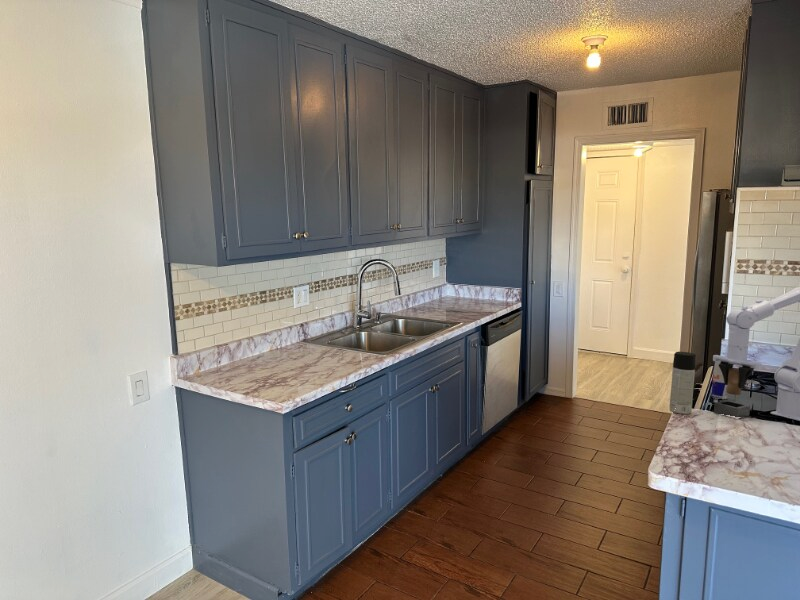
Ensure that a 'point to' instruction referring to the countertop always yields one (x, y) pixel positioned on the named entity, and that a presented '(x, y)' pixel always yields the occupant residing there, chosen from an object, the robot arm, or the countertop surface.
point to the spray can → (682, 382)
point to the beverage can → (718, 383)
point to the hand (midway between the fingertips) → (734, 386)
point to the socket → (731, 408)
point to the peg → (733, 382)
